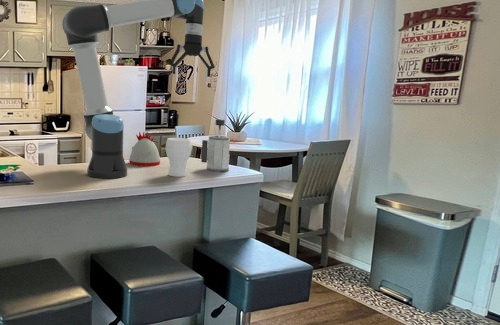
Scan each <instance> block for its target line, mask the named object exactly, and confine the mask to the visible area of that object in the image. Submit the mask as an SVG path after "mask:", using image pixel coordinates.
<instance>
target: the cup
mask: <svg viewBox="0 0 500 325" xmlns="http://www.w3.org/2000/svg"><path fill="white" fill-rule="evenodd" d="M192 147H193V146H192V141H191V139H190V138H185V137H168V138H167V139H166V143H165V153H166V155H167V158H168V161H169V169H168V176H171V177H178V178H179V177H181V178H182V177H187V176H188V170H187V169H188V168H187V164H188V160H189V158H190V157H191V153H192V150H193V149H192Z"/></svg>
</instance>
